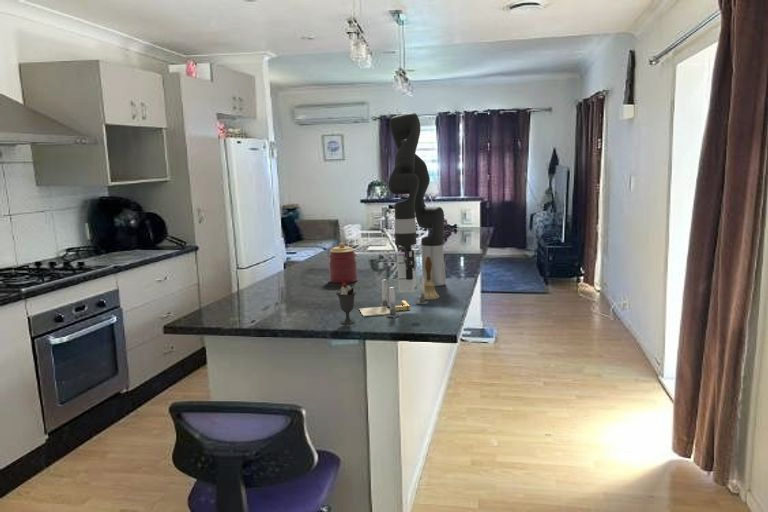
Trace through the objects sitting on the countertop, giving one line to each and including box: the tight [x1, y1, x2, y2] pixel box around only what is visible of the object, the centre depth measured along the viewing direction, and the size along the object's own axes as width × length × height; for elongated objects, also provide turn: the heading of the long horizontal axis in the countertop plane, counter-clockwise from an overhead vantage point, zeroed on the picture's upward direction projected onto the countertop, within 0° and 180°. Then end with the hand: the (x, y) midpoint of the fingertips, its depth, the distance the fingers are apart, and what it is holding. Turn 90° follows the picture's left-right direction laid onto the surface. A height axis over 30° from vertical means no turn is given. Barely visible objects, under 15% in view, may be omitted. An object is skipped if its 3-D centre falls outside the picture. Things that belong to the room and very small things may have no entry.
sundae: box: [335, 278, 357, 325], centre depth 188 cm, size 7×7×15 cm
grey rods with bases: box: [378, 276, 429, 318], centre depth 203 cm, size 18×18×10 cm
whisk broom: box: [417, 257, 440, 301], centre depth 220 cm, size 8×8×16 cm
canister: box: [327, 242, 359, 284], centre depth 257 cm, size 13×13×18 cm
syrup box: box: [396, 249, 418, 294], centre depth 201 cm, size 6×6×14 cm
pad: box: [358, 306, 390, 317], centre depth 201 cm, size 10×10×1 cm
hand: (407, 277), depth 202 cm, fingers closed on syrup box, 7 cm apart
